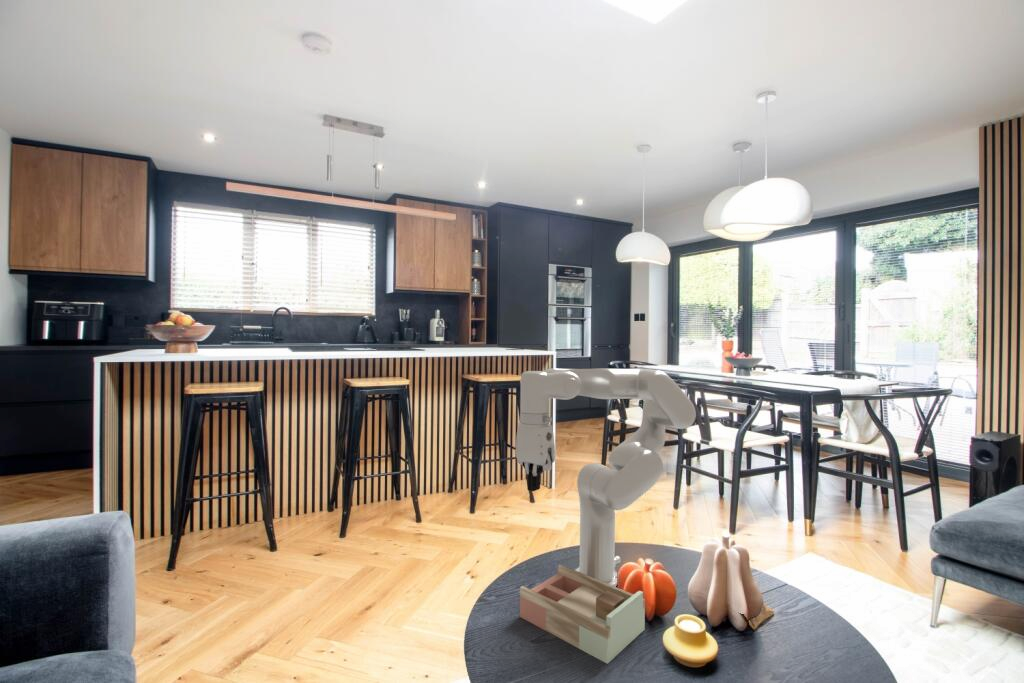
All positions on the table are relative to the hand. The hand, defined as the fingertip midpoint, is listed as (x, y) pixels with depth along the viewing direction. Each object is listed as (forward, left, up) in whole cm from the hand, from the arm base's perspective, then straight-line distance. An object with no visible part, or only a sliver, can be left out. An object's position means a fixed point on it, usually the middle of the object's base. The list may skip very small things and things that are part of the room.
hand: (533, 489), depth 124 cm
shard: (-30, +46, -28) cm, 62 cm away
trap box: (+2, +16, -27) cm, 32 cm away
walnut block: (+2, +24, -22) cm, 33 cm away
